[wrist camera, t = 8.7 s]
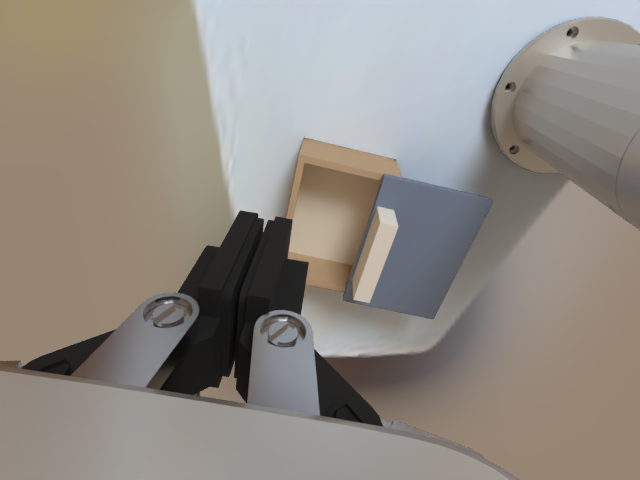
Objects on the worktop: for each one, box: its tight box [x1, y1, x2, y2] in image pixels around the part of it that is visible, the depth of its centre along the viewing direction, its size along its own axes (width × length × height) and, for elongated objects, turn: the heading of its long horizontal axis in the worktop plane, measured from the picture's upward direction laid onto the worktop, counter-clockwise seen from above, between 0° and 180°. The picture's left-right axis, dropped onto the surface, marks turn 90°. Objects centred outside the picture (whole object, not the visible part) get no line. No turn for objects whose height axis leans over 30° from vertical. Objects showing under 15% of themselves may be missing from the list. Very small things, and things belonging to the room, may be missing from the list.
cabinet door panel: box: [343, 173, 493, 319], centre depth 34 cm, size 9×13×4 cm
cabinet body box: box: [286, 138, 402, 292], centre depth 38 cm, size 9×13×5 cm
